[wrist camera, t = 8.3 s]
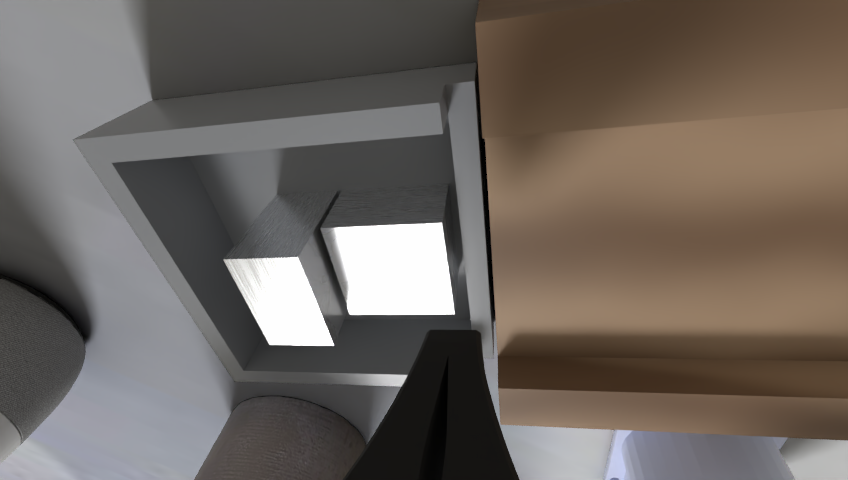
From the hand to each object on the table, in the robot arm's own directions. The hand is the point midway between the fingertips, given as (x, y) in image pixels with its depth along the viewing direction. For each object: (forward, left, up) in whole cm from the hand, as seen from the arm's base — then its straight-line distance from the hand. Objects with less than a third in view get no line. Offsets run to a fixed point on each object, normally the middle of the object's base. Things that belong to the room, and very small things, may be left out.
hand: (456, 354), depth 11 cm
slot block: (0, -8, -6) cm, 10 cm away
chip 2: (0, +3, -6) cm, 6 cm away
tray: (0, +5, -6) cm, 8 cm away
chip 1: (0, +5, -4) cm, 6 cm away
